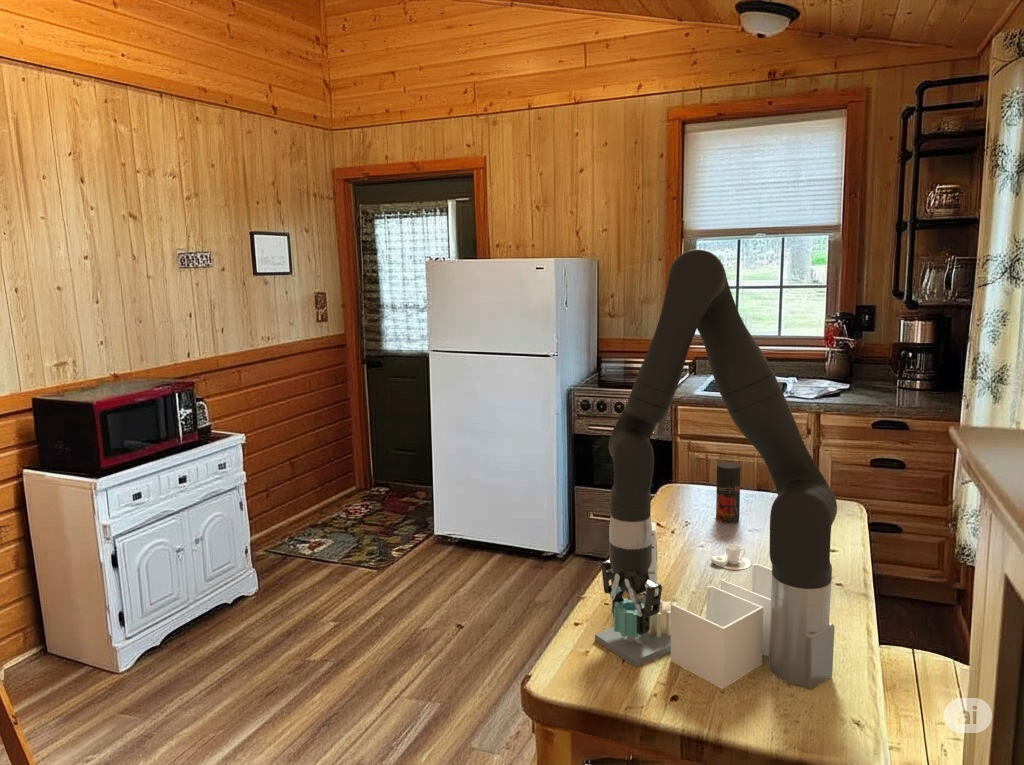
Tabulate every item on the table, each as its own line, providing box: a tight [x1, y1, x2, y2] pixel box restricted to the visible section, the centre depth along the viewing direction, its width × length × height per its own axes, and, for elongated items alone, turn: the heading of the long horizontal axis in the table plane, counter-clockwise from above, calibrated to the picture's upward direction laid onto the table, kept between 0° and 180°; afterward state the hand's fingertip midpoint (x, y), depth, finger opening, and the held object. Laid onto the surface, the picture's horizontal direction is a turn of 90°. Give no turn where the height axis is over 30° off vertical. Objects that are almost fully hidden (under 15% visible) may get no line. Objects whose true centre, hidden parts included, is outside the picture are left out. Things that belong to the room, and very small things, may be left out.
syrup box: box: [639, 520, 658, 596], centre depth 154 cm, size 6×6×14 cm
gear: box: [613, 598, 646, 638], centre depth 132 cm, size 6×6×4 cm
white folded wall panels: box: [670, 563, 772, 690], centre depth 130 cm, size 25×11×11 cm, turn 127°
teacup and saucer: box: [710, 544, 752, 571], centre depth 166 cm, size 9×8×4 cm
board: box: [594, 599, 673, 668], centre depth 134 cm, size 11×14×7 cm
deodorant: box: [715, 461, 742, 525], centre depth 191 cm, size 6×6×15 cm
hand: (630, 624), depth 133 cm, fingers closed on gear, 6 cm apart
